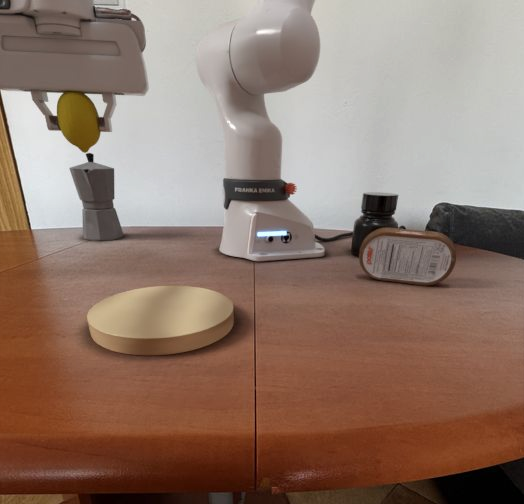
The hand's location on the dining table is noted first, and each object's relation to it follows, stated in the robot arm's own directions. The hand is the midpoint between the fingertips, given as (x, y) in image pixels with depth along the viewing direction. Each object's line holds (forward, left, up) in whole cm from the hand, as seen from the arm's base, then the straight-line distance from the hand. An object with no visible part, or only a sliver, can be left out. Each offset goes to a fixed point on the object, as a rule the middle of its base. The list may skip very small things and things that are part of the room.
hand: (80, 131), depth 54 cm
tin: (-49, +9, -21) cm, 54 cm away
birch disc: (-11, +22, -21) cm, 32 cm away
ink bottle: (-52, -10, -21) cm, 57 cm away
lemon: (0, 0, -3) cm, 3 cm away
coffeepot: (+7, -33, -21) cm, 40 cm away
